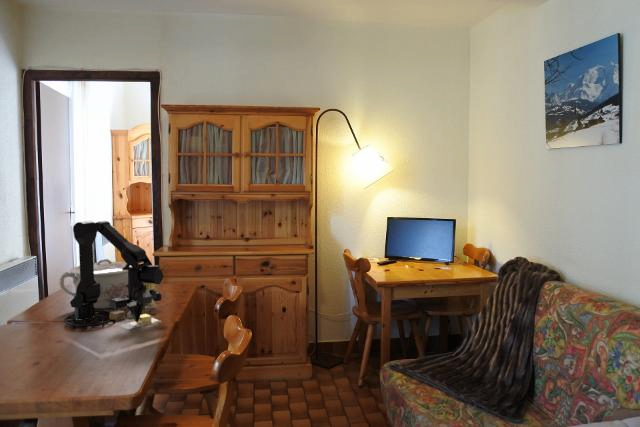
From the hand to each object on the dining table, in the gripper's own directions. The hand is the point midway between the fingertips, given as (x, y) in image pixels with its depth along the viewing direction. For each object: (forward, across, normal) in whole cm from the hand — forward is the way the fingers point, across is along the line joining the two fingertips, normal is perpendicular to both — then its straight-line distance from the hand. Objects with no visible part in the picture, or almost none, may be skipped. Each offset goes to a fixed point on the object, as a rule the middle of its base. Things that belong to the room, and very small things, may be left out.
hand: (136, 321), depth 191 cm
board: (+2, +1, 0) cm, 3 cm away
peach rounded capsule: (+2, +7, +14) cm, 16 cm away
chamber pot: (+2, +6, +39) cm, 40 cm away
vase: (+2, +16, +21) cm, 27 cm away
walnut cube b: (+2, +11, +10) cm, 15 cm away
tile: (+1, +3, 0) cm, 3 cm away
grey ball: (+2, +3, +10) cm, 11 cm away
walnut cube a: (+2, -2, +12) cm, 12 cm away
